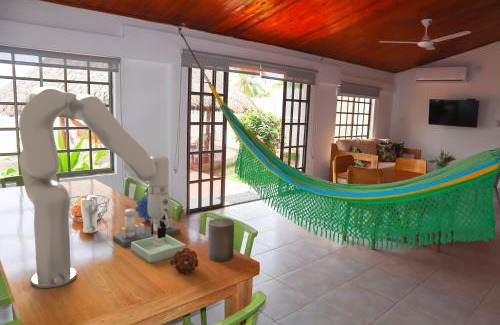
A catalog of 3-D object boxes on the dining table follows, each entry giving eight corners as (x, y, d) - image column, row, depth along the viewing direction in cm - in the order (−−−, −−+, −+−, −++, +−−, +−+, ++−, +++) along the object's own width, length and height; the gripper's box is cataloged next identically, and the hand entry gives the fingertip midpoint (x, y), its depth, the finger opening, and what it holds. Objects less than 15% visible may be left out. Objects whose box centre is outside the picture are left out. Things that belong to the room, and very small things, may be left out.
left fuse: (136, 236, 149) (136, 210, 147) (127, 238, 146) (127, 212, 145) (132, 233, 152) (132, 208, 150) (123, 235, 149) (122, 209, 147)
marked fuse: (166, 245, 139) (166, 217, 137) (156, 247, 136) (156, 219, 135) (160, 241, 142) (160, 214, 140) (151, 244, 139) (151, 216, 137)
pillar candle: (238, 255, 140) (239, 217, 137) (223, 264, 131) (224, 224, 129) (217, 249, 145) (218, 213, 142) (202, 258, 136) (202, 219, 134)
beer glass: (92, 234, 155) (91, 200, 152) (78, 232, 156) (76, 198, 153) (102, 229, 161) (101, 196, 159) (88, 227, 163) (87, 194, 160)
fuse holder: (180, 233, 161) (180, 220, 160) (124, 247, 142) (123, 232, 141) (168, 226, 168) (168, 214, 167) (113, 240, 149) (112, 226, 148)
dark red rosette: (191, 283, 120) (176, 274, 130) (209, 263, 124) (193, 256, 134) (176, 266, 117) (161, 258, 127) (194, 246, 121) (179, 240, 130)
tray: (185, 253, 140) (185, 244, 139) (150, 263, 129) (150, 254, 129) (164, 241, 150) (164, 233, 149) (131, 250, 140) (130, 242, 139)
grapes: (139, 225, 168) (139, 200, 166) (133, 221, 173) (133, 196, 171) (162, 220, 176) (162, 196, 174) (156, 217, 181) (156, 193, 179)
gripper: (179, 192, 132) (179, 240, 135) (155, 183, 144) (156, 227, 147) (161, 195, 127) (161, 244, 130) (138, 186, 139) (138, 231, 142)
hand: (158, 235), depth 139 cm, fingers closed on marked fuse, 3 cm apart
